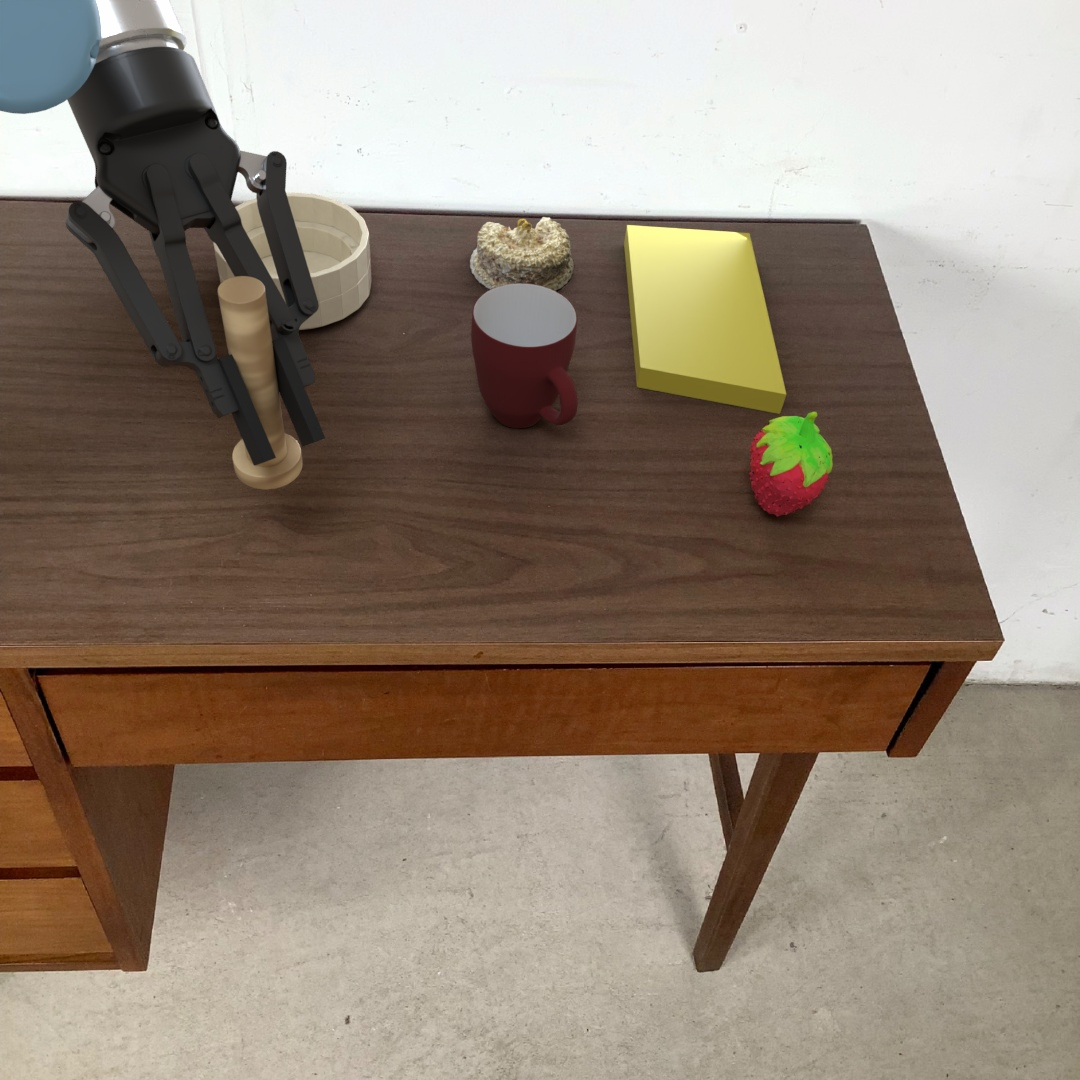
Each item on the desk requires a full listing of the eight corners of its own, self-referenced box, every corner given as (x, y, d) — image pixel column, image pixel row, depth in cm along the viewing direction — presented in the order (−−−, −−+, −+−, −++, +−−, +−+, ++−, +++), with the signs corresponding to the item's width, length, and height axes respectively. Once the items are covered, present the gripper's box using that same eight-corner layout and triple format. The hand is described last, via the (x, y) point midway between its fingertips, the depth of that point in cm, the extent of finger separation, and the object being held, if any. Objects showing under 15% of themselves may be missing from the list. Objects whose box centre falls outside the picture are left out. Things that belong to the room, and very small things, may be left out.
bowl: (263, 354, 91) (254, 296, 86) (198, 275, 97) (187, 217, 93) (398, 307, 96) (396, 250, 92) (327, 235, 103) (322, 178, 99)
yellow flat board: (624, 244, 106) (638, 405, 90) (627, 225, 104) (642, 385, 88) (744, 252, 106) (779, 414, 91) (749, 233, 105) (786, 394, 89)
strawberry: (806, 474, 86) (842, 379, 78) (816, 543, 81) (855, 448, 74) (735, 467, 86) (764, 371, 78) (740, 536, 81) (772, 440, 73)
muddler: (252, 499, 68) (221, 322, 58) (223, 458, 71) (187, 280, 60) (314, 474, 70) (294, 298, 60) (283, 434, 73) (259, 258, 62)
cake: (589, 292, 101) (596, 246, 97) (489, 311, 98) (493, 265, 94) (550, 228, 106) (556, 181, 102) (455, 244, 103) (456, 197, 99)
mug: (607, 431, 88) (624, 334, 80) (539, 477, 83) (549, 379, 76) (517, 368, 92) (525, 270, 85) (448, 409, 88) (449, 309, 80)
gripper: (240, 69, 68) (380, 415, 72) (-15, 124, 61) (156, 503, 65) (268, 16, 61) (421, 400, 65) (-13, 71, 54) (177, 497, 58)
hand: (289, 451), depth 65 cm, fingers closed on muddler, 3 cm apart
